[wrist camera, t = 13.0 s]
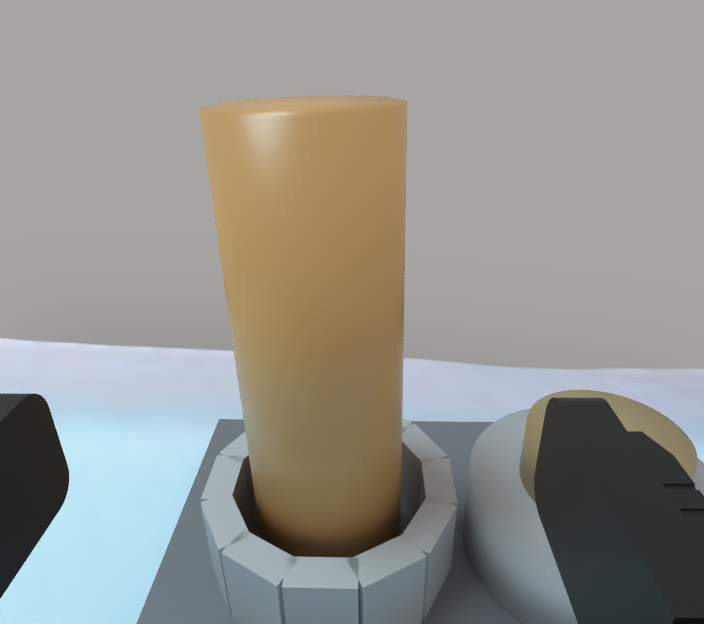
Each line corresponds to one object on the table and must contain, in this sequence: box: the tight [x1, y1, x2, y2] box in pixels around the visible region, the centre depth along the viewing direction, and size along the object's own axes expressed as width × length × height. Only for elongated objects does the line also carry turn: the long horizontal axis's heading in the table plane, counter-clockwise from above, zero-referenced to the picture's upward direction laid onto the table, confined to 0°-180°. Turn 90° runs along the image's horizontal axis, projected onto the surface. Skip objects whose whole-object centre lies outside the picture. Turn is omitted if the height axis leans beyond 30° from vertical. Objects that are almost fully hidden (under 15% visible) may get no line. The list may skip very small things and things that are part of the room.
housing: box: [137, 390, 704, 624], centre depth 19 cm, size 20×14×6 cm
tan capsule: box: [199, 96, 407, 558], centre depth 17 cm, size 5×5×15 cm
